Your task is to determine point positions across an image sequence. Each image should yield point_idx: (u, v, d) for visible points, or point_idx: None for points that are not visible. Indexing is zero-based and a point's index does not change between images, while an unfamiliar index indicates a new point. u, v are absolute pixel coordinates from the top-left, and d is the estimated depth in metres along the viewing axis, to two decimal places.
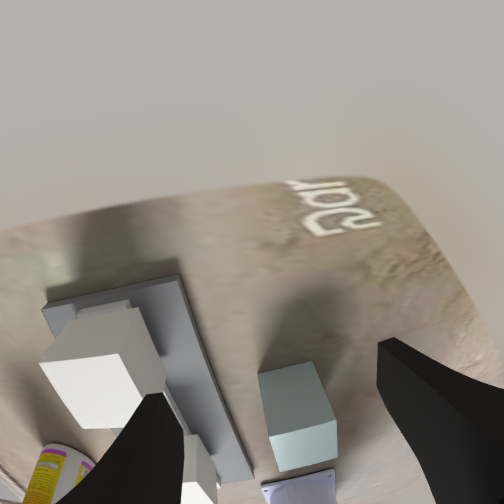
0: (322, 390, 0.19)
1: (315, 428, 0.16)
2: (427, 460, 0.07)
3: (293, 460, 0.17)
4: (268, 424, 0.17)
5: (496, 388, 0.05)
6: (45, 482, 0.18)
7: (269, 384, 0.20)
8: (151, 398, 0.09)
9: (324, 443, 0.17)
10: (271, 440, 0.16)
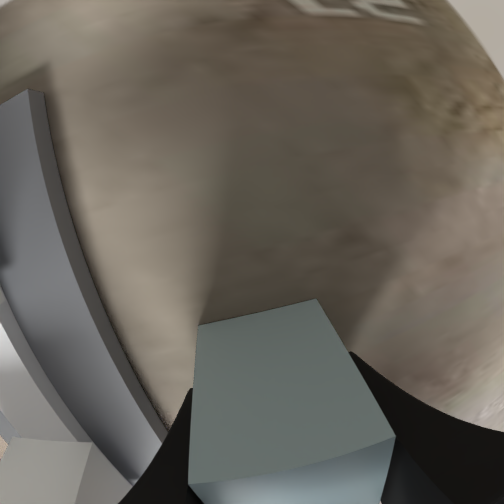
0: (346, 357, 0.07)
1: (332, 466, 0.05)
2: None
3: None
4: (194, 446, 0.06)
5: (447, 416, 0.05)
6: None
7: (218, 346, 0.09)
8: None
9: (351, 495, 0.06)
10: (199, 492, 0.05)
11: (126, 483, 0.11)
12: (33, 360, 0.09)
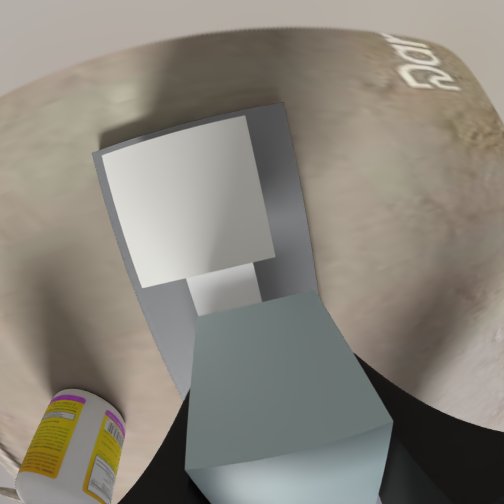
0: (343, 345, 0.08)
1: (329, 451, 0.05)
2: None
3: None
4: (192, 432, 0.06)
5: (447, 416, 0.05)
6: (54, 437, 0.15)
7: (216, 336, 0.09)
8: None
9: (350, 485, 0.06)
10: (196, 479, 0.05)
11: None
12: (255, 273, 0.17)
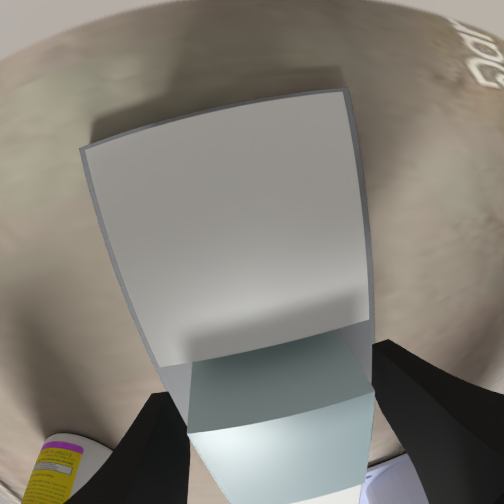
0: None
1: (318, 418, 0.06)
2: (421, 463, 0.07)
3: (264, 492, 0.07)
4: (193, 401, 0.07)
5: (490, 392, 0.05)
6: (49, 496, 0.10)
7: None
8: (157, 397, 0.09)
9: (339, 457, 0.07)
10: (197, 444, 0.06)
11: None
12: None
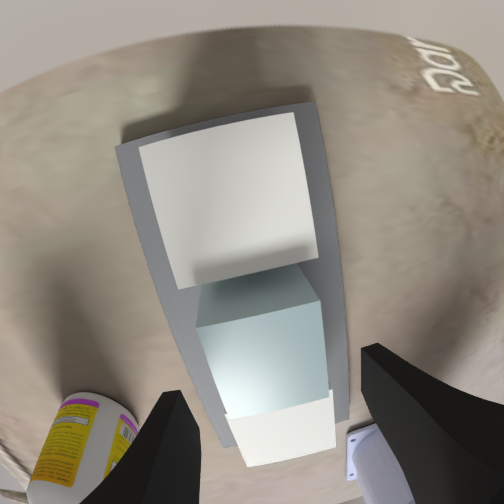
0: (297, 269, 0.12)
1: (282, 318, 0.10)
2: (409, 468, 0.07)
3: (249, 394, 0.11)
4: (200, 312, 0.11)
5: (479, 399, 0.05)
6: (67, 443, 0.14)
7: None
8: (169, 396, 0.09)
9: (303, 360, 0.11)
10: (202, 338, 0.10)
11: None
12: None
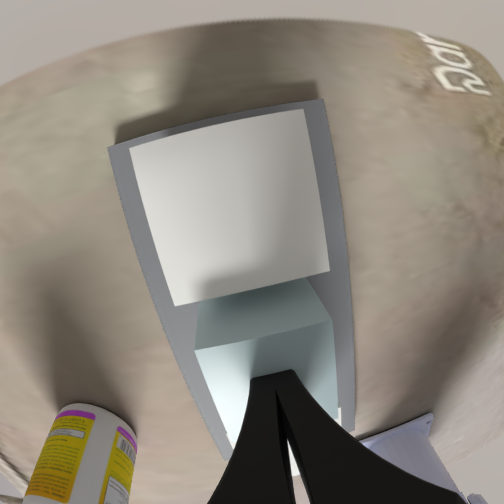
0: (305, 282, 0.11)
1: (290, 339, 0.09)
2: (310, 502, 0.06)
3: None
4: (199, 331, 0.10)
5: (365, 451, 0.05)
6: (63, 457, 0.13)
7: None
8: (263, 379, 0.09)
9: (311, 383, 0.10)
10: (201, 361, 0.09)
11: None
12: None
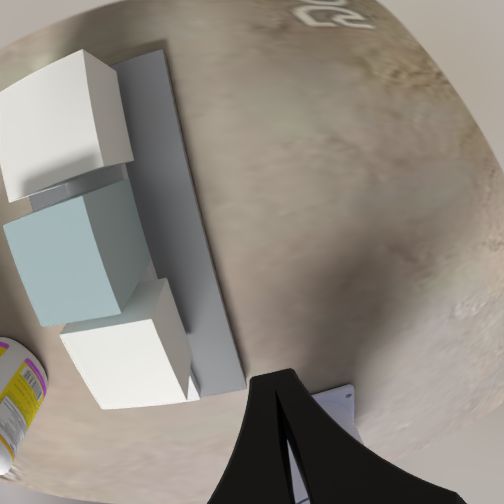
0: (105, 186, 0.12)
1: (55, 214, 0.10)
2: (310, 502, 0.06)
3: (49, 298, 0.11)
4: (17, 218, 0.10)
5: (365, 451, 0.05)
6: None
7: (63, 199, 0.14)
8: (263, 380, 0.09)
9: (81, 262, 0.10)
10: (7, 235, 0.10)
11: (182, 326, 0.18)
12: None
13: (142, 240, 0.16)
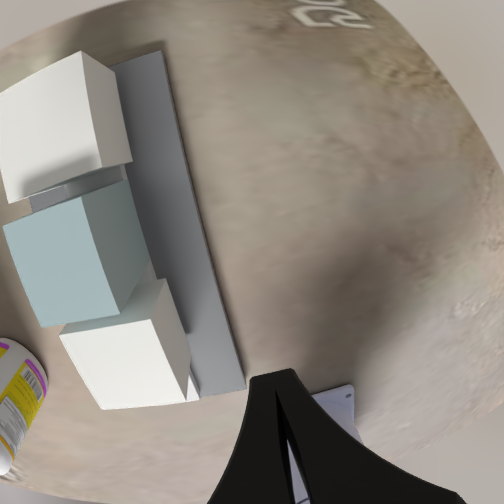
0: None
1: (54, 215, 0.10)
2: (310, 502, 0.06)
3: (48, 299, 0.11)
4: None
5: (365, 451, 0.05)
6: None
7: (62, 200, 0.14)
8: (263, 380, 0.09)
9: (80, 263, 0.10)
10: (6, 236, 0.10)
11: (181, 326, 0.18)
12: None
13: (141, 240, 0.16)
